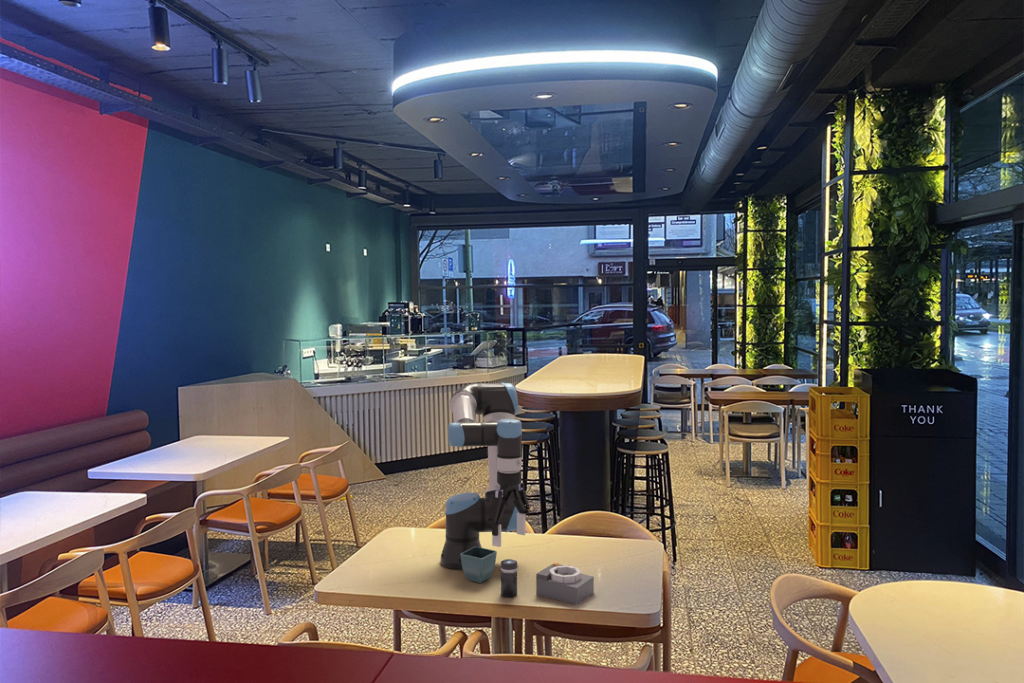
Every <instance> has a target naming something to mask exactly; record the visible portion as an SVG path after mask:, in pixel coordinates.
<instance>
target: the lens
mask: <svg viewBox="0 0 1024 683" xmlns="http://www.w3.org/2000/svg"><path fill="white" fill-rule="evenodd" d="M518 568H519V567H518V561H517V560H515V559H513V558H512V559H511V558H508V559H503V560H501V561H500V596H501V597H503V598H507V599H510V598H515V597H517V596H518V571H519V570H518Z"/></svg>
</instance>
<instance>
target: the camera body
mask: <svg viewBox="0 0 1024 683" xmlns="http://www.w3.org/2000/svg"><path fill="white" fill-rule="evenodd" d="M535 576H536V579H535V583H536V584H535V585H536V586H535V588H536V589H535V590H536V591H535V595H536V596H540V597H545V598H549V599H552V600H557V601H560V602H564V603H569V604H573V605H576V606H577V605H578V604H580V603H581V602H582V601H584V600H585V599H587V598H588V597H589V596H591V595H592V594H594V590H595V589H594V587H595V583H594V581H595V580H594V579H595V577H594V576H593V575H588V574H585V573H584V574H583V573H582V571H581V570H580V569H579V567H575V566H570V565H564V564H561V563H560V564H559V563H558V562H553V563H552V564H550V565H548V566H546V567H545V568H543V569H542V570H540V571H539V572H537V573H536V574H535Z"/></svg>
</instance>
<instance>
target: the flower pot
mask: <svg viewBox="0 0 1024 683" xmlns="http://www.w3.org/2000/svg"><path fill="white" fill-rule="evenodd" d="M481 547H482V546H481ZM481 547H473V548H471V549H469V550H467V551H465V552H463V553H461V554H460V555H461V563H462V569H463V570H462V572H463V574H464V576H465V577H466V579H467V580H468V581H472V582H475V583H483V582H485V581H487V580H488V579H490V578H491V576H492V574H493V573H494V570H495V567H496V561H497V560H496V559H497V550H494V549H490V548H489V549H488V548H484V547H482V548H481Z"/></svg>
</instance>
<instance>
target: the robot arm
mask: <svg viewBox="0 0 1024 683" xmlns="http://www.w3.org/2000/svg"><path fill="white" fill-rule="evenodd" d="M449 408H450V411H451V413H452V414H453V415H452V416H453V422H450V423H449V424H448V429H447V430H448V438H447V439H448V445H449V446H450V447H458V448H462V447H487V456H488V457H487V458H488V459H487V460H488V485H489V486H488V489H486V491H485V492H484V497H481V496H480V494H479V493H478V492H463V493H457V494H455V495H451V496H450V497H449V498H447V500H446V501H445V511H444V514H445V541H444V545H443V546H442V551H441V553H440V554H441V555H440V564H441V566H442V567H444V568H447V569H451V570H459V571H460V570H462V571H463V569H462V563H461V555H460V554H461V553H463V552H465V551H467V550H469V549H471V548H473V547H481V548H483V547H482V544H481V541H480V533H491V535H492V536H491V539H492V540H491V545H492V546H494V547H499V548H500V547H502V533H503V532H505V533H508V532H515V531H516V534H517V535H521V536H526V519H527V518H526V516H527V515H529V513H530V509H531V506H530V504H529V503H530V502H529V500H528V496H527V492H526V490H525V488H526V486H525V483H524V482H523V481H522V480H523V479H522V473H523V472H522V471H521V470H522V464H523V462H522V437H523V435H522V433H523V427H522V422H521V420H519V419H517V418H516V419H515V415H517V414H519V401H518V394H517V390H516V387H515V386H514V384H513V383H511V382H510V383H509V382H471V383H468V384H465V385H463V386H461V387H459V388H458V389H457V390H456V391H454V393H453V394H452V396H451V397H450V399H449ZM476 415H482V420H483V421H482V422H481V421H479V422H477V417H476ZM526 514H527V515H526Z"/></svg>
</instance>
